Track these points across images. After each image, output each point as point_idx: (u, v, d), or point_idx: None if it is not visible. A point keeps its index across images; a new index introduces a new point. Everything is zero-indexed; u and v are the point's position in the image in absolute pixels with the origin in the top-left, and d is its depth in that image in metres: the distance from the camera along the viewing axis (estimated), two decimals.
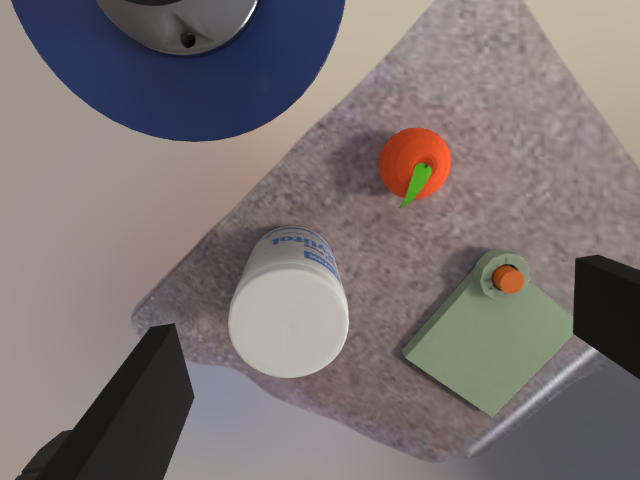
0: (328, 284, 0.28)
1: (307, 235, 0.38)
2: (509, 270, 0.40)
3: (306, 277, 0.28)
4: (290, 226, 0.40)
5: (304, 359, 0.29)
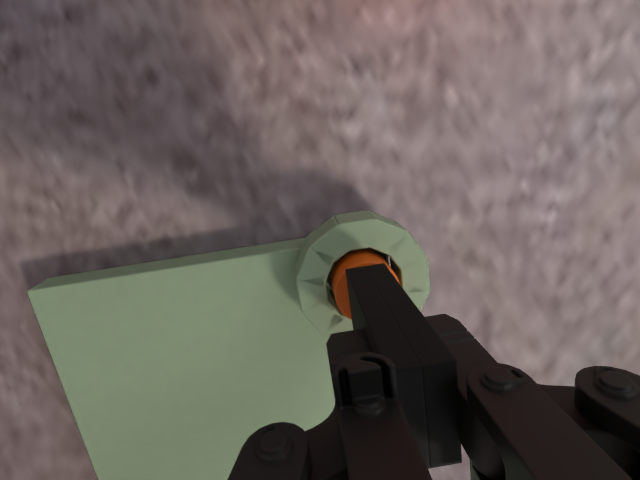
0: None
1: None
2: (383, 262, 0.15)
3: None
4: None
5: None
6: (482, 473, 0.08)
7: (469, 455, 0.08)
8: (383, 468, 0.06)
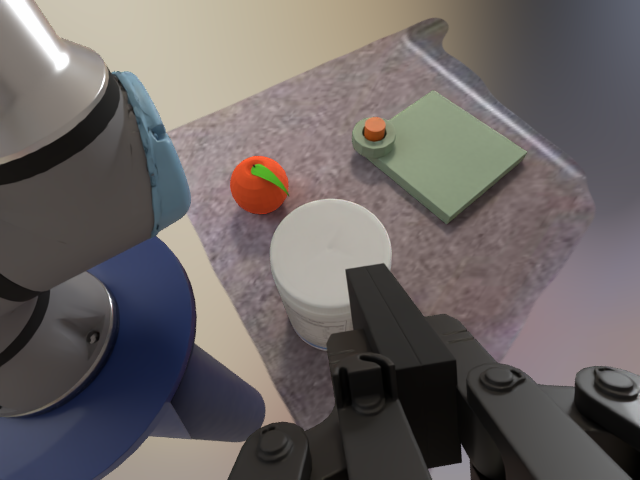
0: (297, 208, 0.30)
1: None
2: None
3: (284, 224, 0.29)
4: None
5: (370, 241, 0.28)
6: (483, 474, 0.08)
7: (469, 455, 0.08)
8: (383, 468, 0.06)
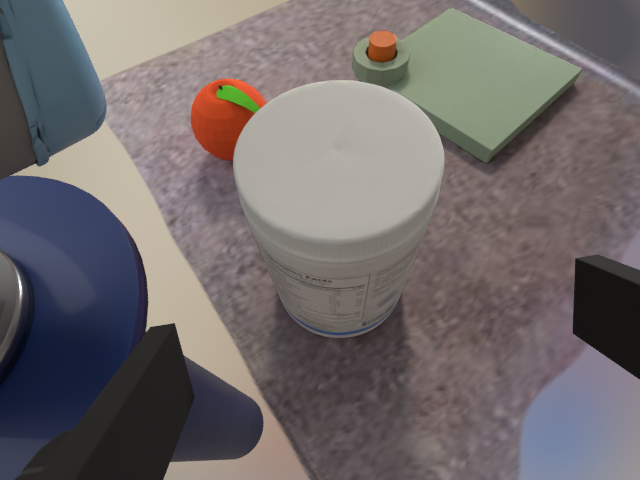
0: (278, 96, 0.18)
1: None
2: (369, 43, 0.36)
3: (257, 119, 0.18)
4: None
5: (405, 136, 0.17)
6: None
7: None
8: None
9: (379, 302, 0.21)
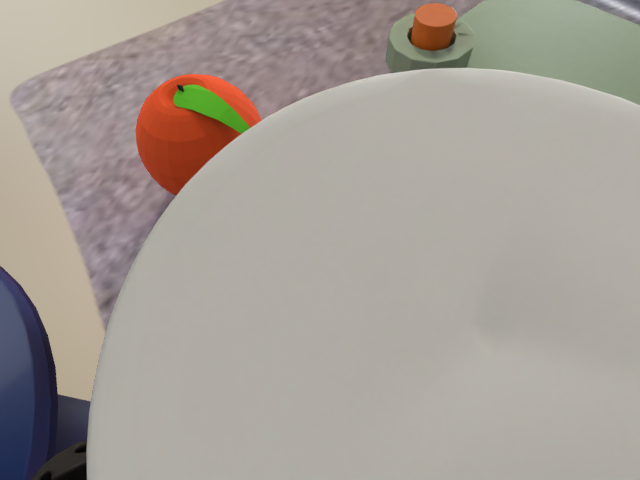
0: (273, 115, 0.06)
1: None
2: (414, 21, 0.24)
3: (204, 193, 0.05)
4: None
5: None
6: None
7: None
8: None
9: None
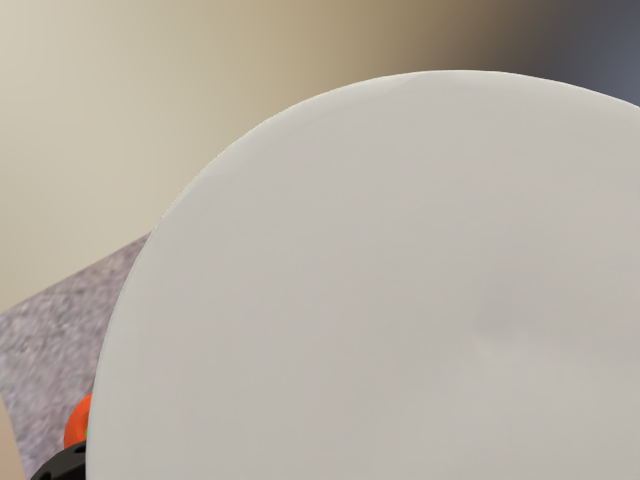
0: (273, 117, 0.06)
1: None
2: None
3: (203, 197, 0.05)
4: None
5: None
6: None
7: None
8: None
9: None
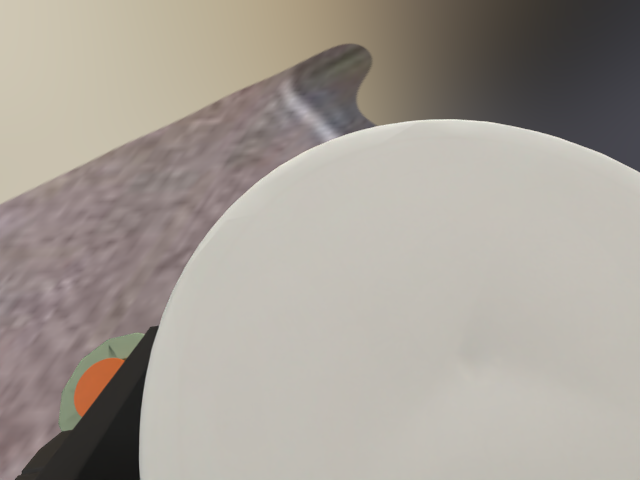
0: (286, 163, 0.07)
1: None
2: (78, 392, 0.17)
3: (228, 237, 0.06)
4: None
5: None
6: None
7: None
8: None
9: None
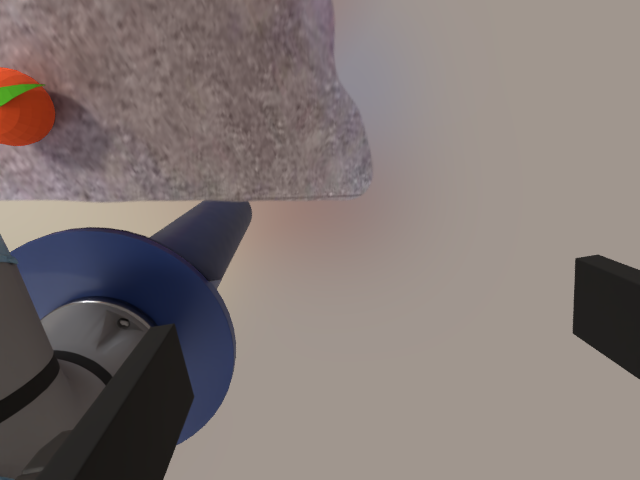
0: None
1: None
2: None
3: None
4: None
5: None
6: None
7: None
8: None
9: None
